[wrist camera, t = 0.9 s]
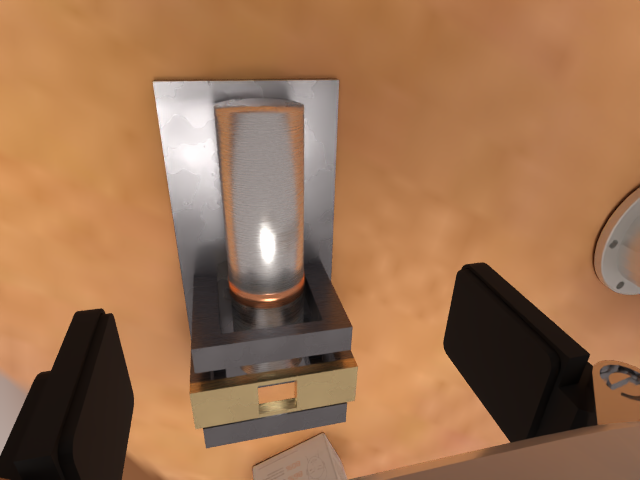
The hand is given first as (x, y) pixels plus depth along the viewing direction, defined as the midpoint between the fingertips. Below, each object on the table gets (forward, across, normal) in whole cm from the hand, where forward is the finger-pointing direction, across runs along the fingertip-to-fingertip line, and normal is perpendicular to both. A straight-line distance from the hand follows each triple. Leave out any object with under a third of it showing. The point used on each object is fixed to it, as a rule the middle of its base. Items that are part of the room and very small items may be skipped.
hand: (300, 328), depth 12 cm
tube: (+18, -1, +6) cm, 19 cm away
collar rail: (+19, -1, +9) cm, 21 cm away
